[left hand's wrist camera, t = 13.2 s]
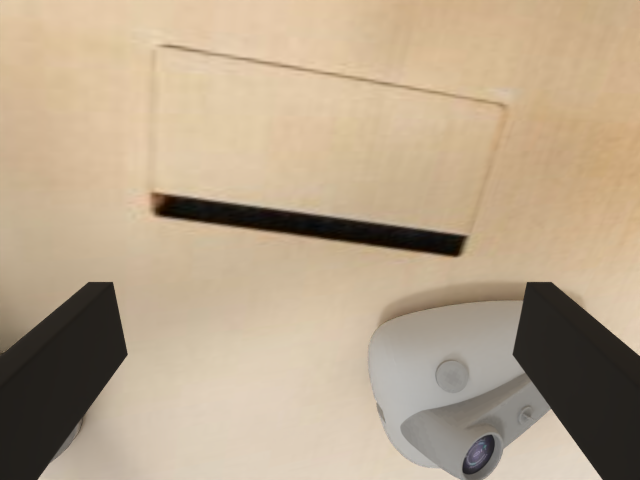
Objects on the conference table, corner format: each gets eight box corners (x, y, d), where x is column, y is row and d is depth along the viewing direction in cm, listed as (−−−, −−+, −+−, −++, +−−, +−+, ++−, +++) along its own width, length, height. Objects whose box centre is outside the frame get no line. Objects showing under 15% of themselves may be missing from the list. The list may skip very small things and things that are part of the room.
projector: (482, 451, 51) (541, 583, 38) (324, 385, 48) (326, 504, 34) (599, 319, 45) (723, 421, 31) (425, 229, 41) (479, 300, 27)
